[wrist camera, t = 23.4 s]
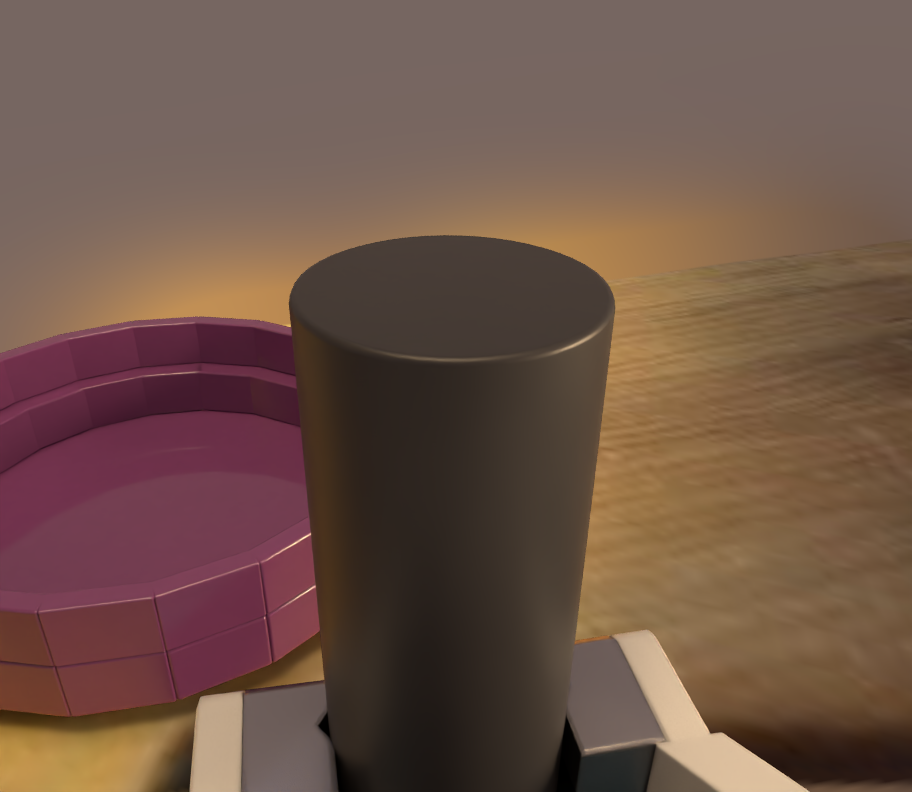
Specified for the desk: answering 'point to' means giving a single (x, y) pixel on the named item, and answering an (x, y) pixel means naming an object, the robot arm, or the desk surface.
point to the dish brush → (449, 501)
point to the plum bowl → (150, 513)
